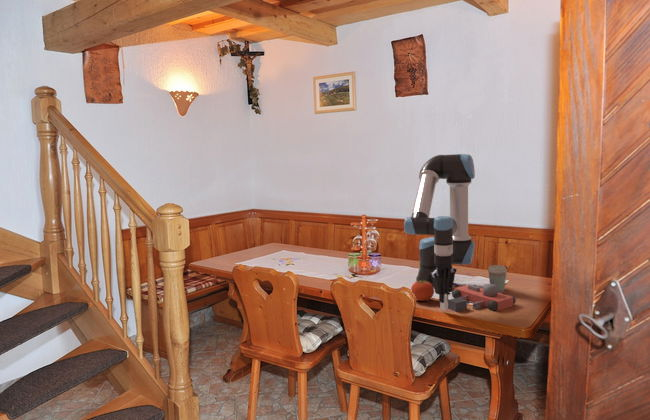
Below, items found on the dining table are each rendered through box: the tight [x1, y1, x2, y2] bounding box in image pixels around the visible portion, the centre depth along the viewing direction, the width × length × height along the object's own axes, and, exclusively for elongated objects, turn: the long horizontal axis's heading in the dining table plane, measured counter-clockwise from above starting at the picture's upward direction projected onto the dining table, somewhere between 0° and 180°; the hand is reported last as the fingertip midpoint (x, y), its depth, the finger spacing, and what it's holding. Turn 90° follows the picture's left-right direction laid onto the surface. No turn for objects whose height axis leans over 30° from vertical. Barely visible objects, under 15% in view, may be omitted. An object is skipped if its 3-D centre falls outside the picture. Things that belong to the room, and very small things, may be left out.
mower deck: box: [451, 283, 517, 312], centre depth 210 cm, size 24×13×8 cm, turn 32°
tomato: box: [410, 279, 435, 302], centre depth 214 cm, size 10×10×10 cm
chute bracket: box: [459, 295, 484, 310], centre depth 207 cm, size 10×6×2 cm, turn 32°
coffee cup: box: [487, 264, 508, 294], centre depth 223 cm, size 8×8×12 cm
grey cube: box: [448, 297, 468, 312], centre depth 202 cm, size 5×6×4 cm
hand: (443, 309), depth 198 cm, fingers closed
